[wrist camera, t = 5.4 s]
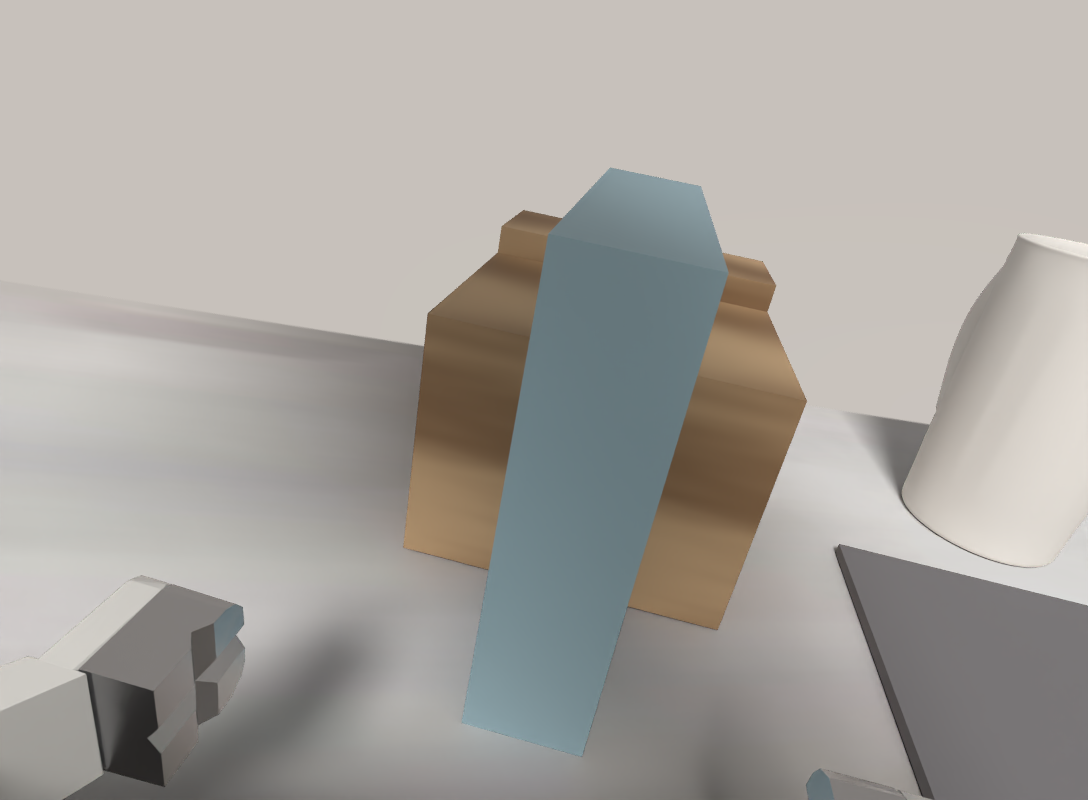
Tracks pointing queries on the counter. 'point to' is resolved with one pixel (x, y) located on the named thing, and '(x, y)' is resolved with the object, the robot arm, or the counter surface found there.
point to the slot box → (699, 458)
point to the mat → (977, 679)
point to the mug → (1013, 413)
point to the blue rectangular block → (591, 448)
